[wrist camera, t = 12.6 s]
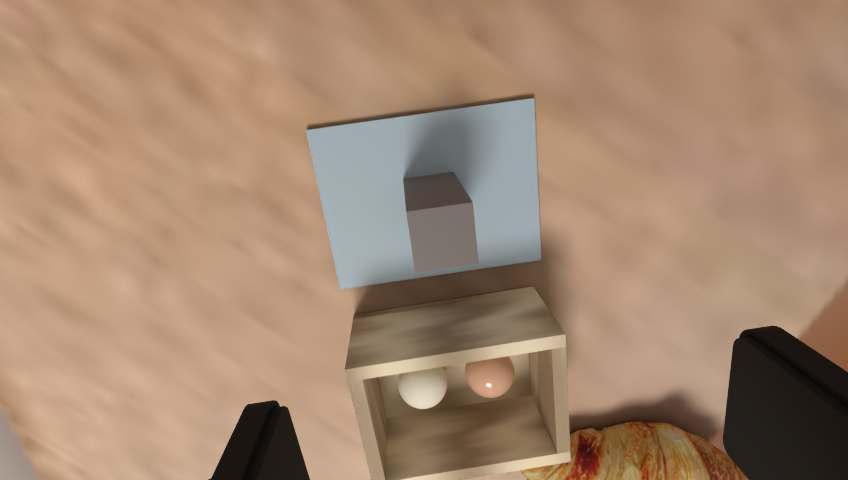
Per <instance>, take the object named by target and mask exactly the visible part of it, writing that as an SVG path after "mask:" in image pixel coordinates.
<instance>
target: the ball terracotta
mask: <svg viewBox="0 0 848 480" xmlns="http://www.w3.org/2000/svg"><path fill="white" fill-rule="evenodd" d="M514 375H515V371H514V366H513V363H512V361H511V359H510V358H509V356H506V357H500V358H494V359H488V360H481V361H475V362H469V363H466V366H465V377H466V380H467V383H468V385H469V386H470V388H471V389H472V390H473V391H474V392H475V393H477V394H478V395H480V396H482V397H486V398H495V397H499V396H501V395H503V394H505V393H506V392H507V391H508V390H509V389H510V387H511V386H512V384H513V381H514Z"/></svg>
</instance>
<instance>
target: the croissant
mask: <svg viewBox="0 0 848 480" xmlns="http://www.w3.org/2000/svg"><path fill="white" fill-rule="evenodd" d="M570 455H571V462H567V463H561V464H555V465H548V466H542V467H536V468H530V469H524V470H521V473H522V474H523V475H524V476H526V477H527V480H749V479H748V478H747V477H746V476H745V475H744V474H743V472H742V471H741V470H740V469H739V468H738V467H737V465H736V464H735V463H734V462H733V461H732V460H731V458H730V457H729V456H728V455H726V454H725V453H724V452H722V451H720V450H719V449H717V448H716V447H714V446H713V445H712V444H711V443H710V442H708V441H707V440H705V439H704V438H702V437H700V436H697V435H694V434H691V433H689V432H686V431H684V430H683V429H681V428H679V427H677V426H674V425H672V424H669V423H645V422H628V423H624V424H618V425H614V426H610V427H607V428H606V427H604V428H603V429H602V431H598V430H595V429H594V428H589V429H583V430H577V431H576V432H574V433H572V434H570Z"/></svg>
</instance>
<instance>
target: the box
mask: <svg viewBox="0 0 848 480" xmlns="http://www.w3.org/2000/svg"><path fill="white" fill-rule="evenodd" d="M506 356H509V358H510V359H511V361H512V363H513V366H514V371H515V375H514V381H513V384H512V386H511V387H510V389H509V390H508V391H507V392H506V393H505V394H503V395H501V396H499V397H495V398H486V397H482V396H480V395H478V394H477V393H475V392H474V391H473V390H472V389H471V388H470V386H469V385H468V383H467V380H466V377H465V366H466V363H469V362H475V361H481V360H488V359H494V358H500V357H506ZM438 367H442V368H443V369H444V371H445V373H446V377H447V390H446V393H445V395H444V397H443V398H442V400H441V401H440V402H439V403H438V404H437V405H435V406H433V407H431V408H427V409H418V408H414V407H412V406H410V405H409V404H407V403H406V402H405V401H404V400H403V398H402V396H401V395H400V392H399V389H398V378H399V374H400V373H407V372H413V371H419V370H425V369H432V368H438ZM345 372H346V376H347V380H348V385H349V389H350V393H351V397H352V401H353V405H354V409H355V414H356V418H357V422H358V426H359V430H360V434H361V438H362V443H363V447H364V451H365V455H366V459H367V463H368V467H369V472H370V476H371V480H463V479H469V478H475V477H481V476H487V475H494V474H500V473H506V472H512V471H518V470H524V469H530V468H536V467H542V466H548V465H555V464H561V463H567V462H571V455H570V430H569V406H568V381H567V357H566V334H565V333H564V331H563V330H562V328H561V327H560V325H559V324H558V322H557V321H556V319H555V318H554V316H553V315H552V313H551V312H550V311H549V309H548V308H547V306H546V305H545V303H544V302H543V300H542V299H541V297H540V296H539V294H538V293H537V291H536V290H535V288H534V287H533V286H532V287H526V288H519V289H513V290H507V291H500V292H494V293H488V294H482V295H475V296H469V297H463V298H456V299H450V300H444V301H437V302H431V303H425V304H418V305H412V306H406V307H400V308H393V309H387V310H381V311H374V312H368V313H362V314H355V315H354V317H353V324H352V330H351V336H350V342H349V348H348V354H347V360H346V366H345Z"/></svg>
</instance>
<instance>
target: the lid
mask: <svg viewBox="0 0 848 480" xmlns="http://www.w3.org/2000/svg"><path fill="white" fill-rule="evenodd" d="M306 134H307V139H308V143H309V148H310V152H311V157H312V162H313V166H314V171H315V176H316V180H317V185H318V189H319V194H320V199H321V203H322V208H323V213H324V217H325V222H326V226H327V231H328V236H329V240H330V245H331V250H332V254H333V259H334V263H335V268H336V273H337V277H338V282H339V287H340V289H347V288H354V287H360V286H367V285H374V284H381V283H388V282H395V281H401V280H408V279H415V278H422V277H429V276H436V275H443V274H449V273H456V272H463V271H470V270H477V269H484V268H490V267H497V266H504V265H511V264H518V263H525V262H532V261H538V260H541V241H540V219H539V196H538V174H537V151H536V129H535V106H534V98H528V99H521V100H513V101H506V102H499V103H492V104H485V105H478V106H471V107H464V108H457V109H449V110H442V111H435V112H428V113H421V114H414V115H407V116H400V117H393V118H385V119H378V120H371V121H364V122H357V123H350V124H343V125H336V126H329V127H322V128H314V129H307V130H306Z"/></svg>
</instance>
